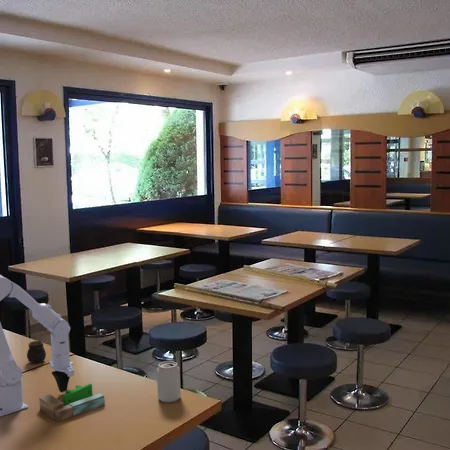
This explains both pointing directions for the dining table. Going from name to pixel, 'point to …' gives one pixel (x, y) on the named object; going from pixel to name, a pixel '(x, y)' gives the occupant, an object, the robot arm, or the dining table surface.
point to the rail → (79, 407)
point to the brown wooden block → (50, 404)
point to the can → (168, 381)
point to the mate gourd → (36, 352)
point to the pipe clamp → (77, 394)
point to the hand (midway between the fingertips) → (63, 391)
